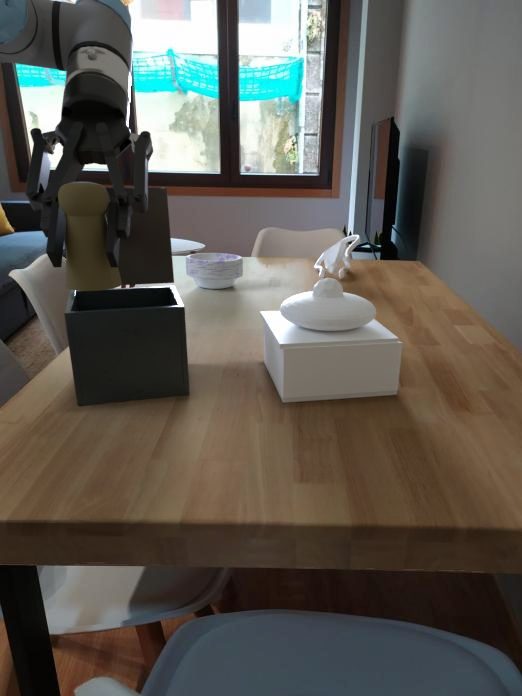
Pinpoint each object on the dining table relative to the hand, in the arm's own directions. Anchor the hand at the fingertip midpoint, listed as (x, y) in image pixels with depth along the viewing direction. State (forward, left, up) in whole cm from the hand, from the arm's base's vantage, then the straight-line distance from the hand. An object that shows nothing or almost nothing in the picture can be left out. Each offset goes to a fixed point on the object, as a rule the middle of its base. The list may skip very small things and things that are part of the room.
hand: (83, 259), depth 57 cm
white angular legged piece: (-63, +94, -22) cm, 116 cm away
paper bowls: (-70, +55, -22) cm, 92 cm away
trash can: (-17, +10, -22) cm, 30 cm away
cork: (-3, +2, -4) cm, 5 cm away
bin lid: (-24, +13, -1) cm, 27 cm away
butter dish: (-2, +36, -22) cm, 43 cm away
